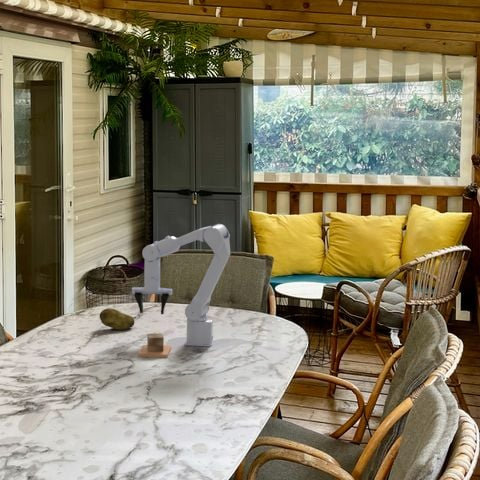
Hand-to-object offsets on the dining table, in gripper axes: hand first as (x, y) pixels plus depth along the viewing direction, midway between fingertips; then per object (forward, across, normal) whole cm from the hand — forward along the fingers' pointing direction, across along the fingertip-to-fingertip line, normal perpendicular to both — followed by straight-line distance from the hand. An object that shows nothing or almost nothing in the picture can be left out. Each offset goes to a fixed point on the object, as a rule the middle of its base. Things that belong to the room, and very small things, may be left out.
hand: (151, 313), depth 273 cm
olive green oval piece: (+10, +15, -10) cm, 20 cm away
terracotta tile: (+9, -4, +17) cm, 20 cm away
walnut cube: (+8, -4, +17) cm, 19 cm away
